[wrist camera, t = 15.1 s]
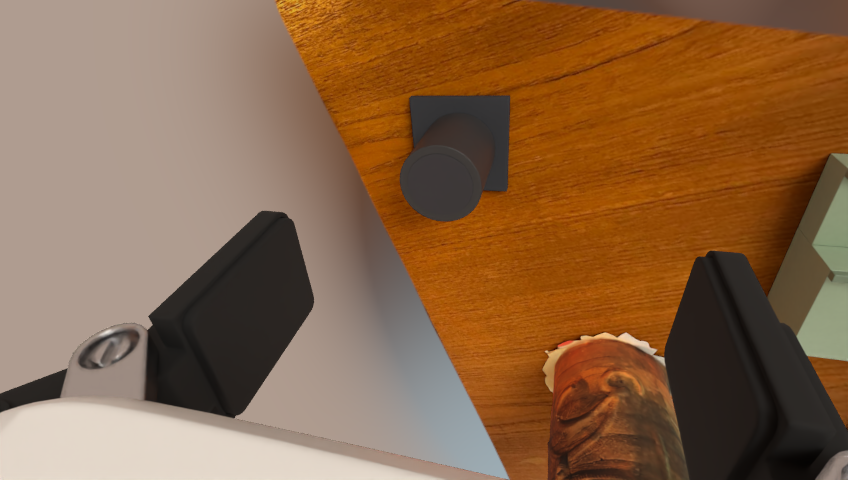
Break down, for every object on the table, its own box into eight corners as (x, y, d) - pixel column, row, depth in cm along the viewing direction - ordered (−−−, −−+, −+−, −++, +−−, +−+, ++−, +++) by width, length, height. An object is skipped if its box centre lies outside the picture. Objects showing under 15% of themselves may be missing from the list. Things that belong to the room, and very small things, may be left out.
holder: (422, 112, 37) (395, 144, 31) (495, 112, 35) (481, 146, 30) (427, 179, 40) (403, 219, 34) (495, 182, 38) (482, 225, 33)
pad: (411, 95, 37) (409, 97, 36) (510, 95, 35) (509, 97, 34) (419, 184, 41) (417, 186, 41) (507, 188, 39) (506, 191, 39)
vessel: (625, 299, 42) (658, 521, 26) (716, 389, 45) (795, 639, 29) (510, 357, 50) (481, 554, 34) (593, 430, 53) (602, 642, 37)
